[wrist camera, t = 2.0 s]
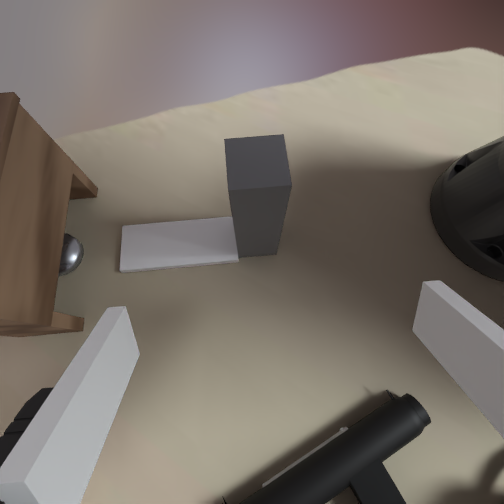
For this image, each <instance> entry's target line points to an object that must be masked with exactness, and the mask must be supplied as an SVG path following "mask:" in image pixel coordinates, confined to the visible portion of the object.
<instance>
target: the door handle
mask: <svg viewBox="0 0 504 504" xmlns="http://www.w3.org/2000/svg"><path fill="white" fill-rule="evenodd" d="M386 391H387V392H388V394H389V396H390V397H391V400H390V401H388V402H387V403H385V404H384V405H382V406H381V407H379V408H378V409H376V410H375V411H374V412H372V413H371V414H369V415H368V416H366V417H365V418H363V419H362V420H360V421H359V422H358V423H356V424H355V425H353V426H352V427H350V428H349V429H348V428H347V427H345V428H343V427H342V428H340V430H339V432H338V433H336V434H335V435H333V436H332V437H330V438H329V439H327V440H326V441H324V442H323V443H322V444H320V445H319V446H317V447H316V448H314V449H313V450H311V451H310V452H308V453H307V454H306V455H304V456H303V457H301V458H300V459H298V460H297V461H295V462H294V463H292V464H291V465H290V466H288V467H287V468H285V469H284V470H282V471H281V472H279V473H278V474H276V475H275V476H273V477H272V478H271V479H269V480H268V481H266V482H265V483H263V484H262V485H263V488H262V489H260V490H259V491H257V492H256V493H254V494H253V495H252V496H250V497H249V498H247V499H246V500H244V501H243V502H241V503H240V504H325V503H327V502H328V501H329V500H331V499H332V498H334V497H335V496H336V495H338V494H339V493H340V492H342V491H343V490H345V489H346V488H347V487H349V486H350V487H351V489H352V490H353V492H354V494H355V496H356V498H357V499H358V501H359V503H360V504H406V502H405V501H404V499H403V497H402V496H401V494H400V492H399V490H398V489H397V487H396V485H395V484H394V482H393V480H392V479H391V477H390V475H389V474H388V472H387V470H386V468H385V467H384V465H383V463H382V462H383V461H384V460H386V459H387V458H388V457H390V456H391V455H393V454H394V453H395V452H397V451H398V450H399V449H401V448H402V447H404V446H405V445H406V444H408V443H409V442H410V441H412V440H413V439H415V438H416V437H417V436H419V435H420V434H421V433H422V431H423V429H424V427H425V426H427V425H428V424H430V423H431V420H430V417H429V415H428V413H427V412H426V410H425V409H424V407H423V406H422V405H421V404H420V403H419V402H418V401H417V400H416V399H415V398H414V397H413V396H411V395H410V394H407V393H406V394H405V395H403V396H402V397H396V398H392V397H393V396H392V395H391V393H389V391H388V390H386ZM223 499H224V498H223ZM224 502H225V500H224ZM225 504H226V502H225Z"/></svg>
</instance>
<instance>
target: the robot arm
mask: <svg viewBox="0 0 504 504" xmlns="http://www.w3.org/2000/svg"><path fill="white" fill-rule="evenodd" d="M431 214H432V218H433V221H434V224H435V227H436V229H437V231H438V233H439V235H440V236H441V238H442V239H443V241H444V242H445V244H446V245H447V246H448V247H449V249H450V250H451V251H452V252H453V253H454V254H455V255H456V256H457V257H458V258H459V259H461V260H462V261H463V262H464V263H466V264H467V265H469V266H470V267H472V268H473V269H475V270H477V271H478V272H480V273H482V274H484V275H487V276H489V277H492V278H494V279H497V280H501V281H504V136H503V137H501V138H499V139H497V140H495V141H492V142H490V143H488V144H486V145H484V146H482V147H480V148H478V149H475V150H473V151H471V152H469V153H467V154H465V155H464V156H462V157H461V158H459V159H458V160H457V161H455V162H454V163H453V164H452V165H451V166H450V167H449V168H448V169H447V170H446V171H445V172H444V173H443V174H442V175H441V176H440V177H439V178H438V180H437V181H436V183H435V185H434V187H433V190H432V194H431ZM412 331H413V332H414V333H415V334H416V336H417V337H418V338H419V339H420V340H421V342H422V343H423V344H424V345H425V346H426V347H427V349H428V350H429V351H430V352H431V353H432V354H433V356H434V357H435V358H436V359H437V360H438V362H439V363H440V364H441V365H442V366H443V367H444V369H445V370H446V371H447V372H448V373H449V375H450V376H451V377H452V378H453V379H454V380H455V382H456V383H457V384H458V385H459V386H460V387H461V389H462V390H463V391H464V392H465V393H466V395H467V396H468V397H469V398H470V399H471V400H472V402H473V403H474V404H475V405H476V406H477V408H478V409H479V410H480V411H481V412H482V413H483V415H484V416H485V417H486V418H487V419H488V420H489V422H490V423H491V424H492V425H493V426H494V428H495V429H496V430H497V431H498V432H499V433H500V435H501V436H502V437H503V438H504V330H503V329H502V328H501V327H500V326H498V325H497V324H496V323H494V322H493V321H492V320H491V319H489V318H488V317H487V316H485V315H484V314H483V313H482V312H480V311H479V310H478V309H476V308H475V307H474V306H472V305H471V304H470V303H469V302H467V301H466V300H465V299H463V298H462V297H461V296H460V295H458V294H457V293H456V292H454V291H453V290H452V289H451V288H449V287H448V286H447V285H445V284H444V283H443V282H442V281H440V280H437V281H424V282H423V284H422V289H421V293H420V298H419V302H418V307H417V311H416V316H415V320H414V324H413V329H412ZM139 355H140V353H139V349H138V346H137V343H136V339H135V336H134V332H133V329H132V326H131V322H130V319H129V315H128V312H127V309H126V306H119V307H108V308H107V309H106V311H105V312H104V314H103V315H102V317H101V318H100V320H99V321H98V323H97V324H96V326H95V327H94V329H93V330H92V332H91V333H90V335H89V336H88V338H87V339H86V341H85V342H84V344H83V345H82V347H81V348H80V350H79V351H78V353H77V354H76V356H75V357H74V359H73V360H72V361H71V363H70V364H69V366H68V367H67V369H66V370H65V372H64V373H63V375H62V376H61V378H60V379H59V381H58V382H57V384H56V385H55V387H53V388H42V389H41V390H40V391H39V392H38V393H36V394H35V395H34V396H33V397H32V398H31V399H30V400H28V401H27V402H26V403H25V405H24V406H23V407H22V409H21V410H20V411H19V413H18V414H17V415H16V417H15V418H14V422H11V424H10V425H9V426H8V428H7V429H6V430H5V432H4V435H3V436H1V437H0V504H80V503H81V500H82V498H83V495H84V493H85V490H86V488H87V485H88V483H89V480H90V478H91V475H92V473H93V470H94V468H95V465H96V463H97V460H98V458H99V455H100V453H101V450H102V448H103V445H104V443H105V440H106V438H107V435H108V433H109V430H110V428H111V425H112V423H113V420H114V418H115V415H116V413H117V410H118V408H119V405H120V403H121V400H122V398H123V395H124V393H125V390H126V388H127V385H128V383H129V380H130V378H131V375H132V373H133V370H134V368H135V365H136V363H137V360H138V358H139Z"/></svg>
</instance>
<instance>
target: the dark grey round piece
mask: <svg viewBox="0 0 504 504" xmlns="http://www.w3.org/2000/svg"><path fill="white" fill-rule="evenodd" d="M83 254H84V250H83V246H82V244H81V243H80V241H78V240H77V239H76V238H74V237H72V236H71V235H69V234H65V233H64V239H63V246H62V253H61V260H60V267H59V274H58V276H62V275H66V274H68V273H70V272H72V271H73V270H75V269H76V268H77V267H78V265H79V264H80V263H81V261H82V258H83Z"/></svg>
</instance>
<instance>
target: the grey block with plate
mask: <svg viewBox="0 0 504 504" xmlns="http://www.w3.org/2000/svg"><path fill="white" fill-rule="evenodd" d="M224 141H225V154H226V167H227V180H228V192H229V199H230V205H231V212H232V216H230V217H218V218H207V219H195V220H183V221H172V222H160V223H149V224H137V225H125V226H122V241H121V256H120V271H121V272H122V273H127V272H138V271H149V270H160V269H171V268H182V267H193V266H204V265H215V264H226V263H237V262H239V258H242V257H253V256H264V255H276V254H277V249H278V245H279V240H280V236H281V231H282V227H283V222H284V218H285V214H286V209H287V205H288V200H289V196H290V191H291V187H292V183H291V177H290V171H289V165H288V158H287V152H286V146H285V140H284V134H282V135H269V136H257V137H244V138H231V139H224Z"/></svg>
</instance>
